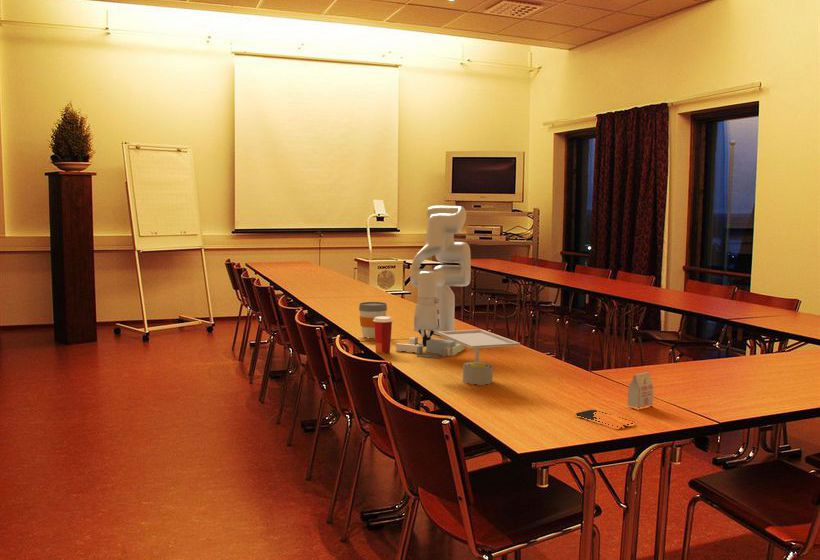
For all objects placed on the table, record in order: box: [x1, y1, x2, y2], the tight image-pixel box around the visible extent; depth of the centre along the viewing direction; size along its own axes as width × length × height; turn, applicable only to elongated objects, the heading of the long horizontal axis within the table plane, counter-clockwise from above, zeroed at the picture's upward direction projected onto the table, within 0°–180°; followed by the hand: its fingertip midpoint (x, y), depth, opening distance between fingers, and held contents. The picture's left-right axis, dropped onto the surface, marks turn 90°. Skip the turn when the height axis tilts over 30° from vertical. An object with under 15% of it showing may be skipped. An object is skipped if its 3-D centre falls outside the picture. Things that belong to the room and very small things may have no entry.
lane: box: [395, 336, 466, 359], centre depth 290 cm, size 29×24×3 cm
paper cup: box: [373, 315, 393, 354], centre depth 284 cm, size 8×8×14 cm
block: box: [425, 338, 456, 355], centre depth 286 cm, size 6×10×5 cm, turn 58°
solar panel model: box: [437, 328, 521, 386], centre depth 237 cm, size 28×17×15 cm, turn 20°
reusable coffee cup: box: [358, 301, 388, 339], centre depth 319 cm, size 13×13×15 cm
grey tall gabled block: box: [627, 371, 654, 408], centre depth 208 cm, size 4×7×10 cm, turn 126°
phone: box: [575, 409, 636, 427], centre depth 195 cm, size 8×1×15 cm
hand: (426, 346), depth 291 cm, fingers closed
